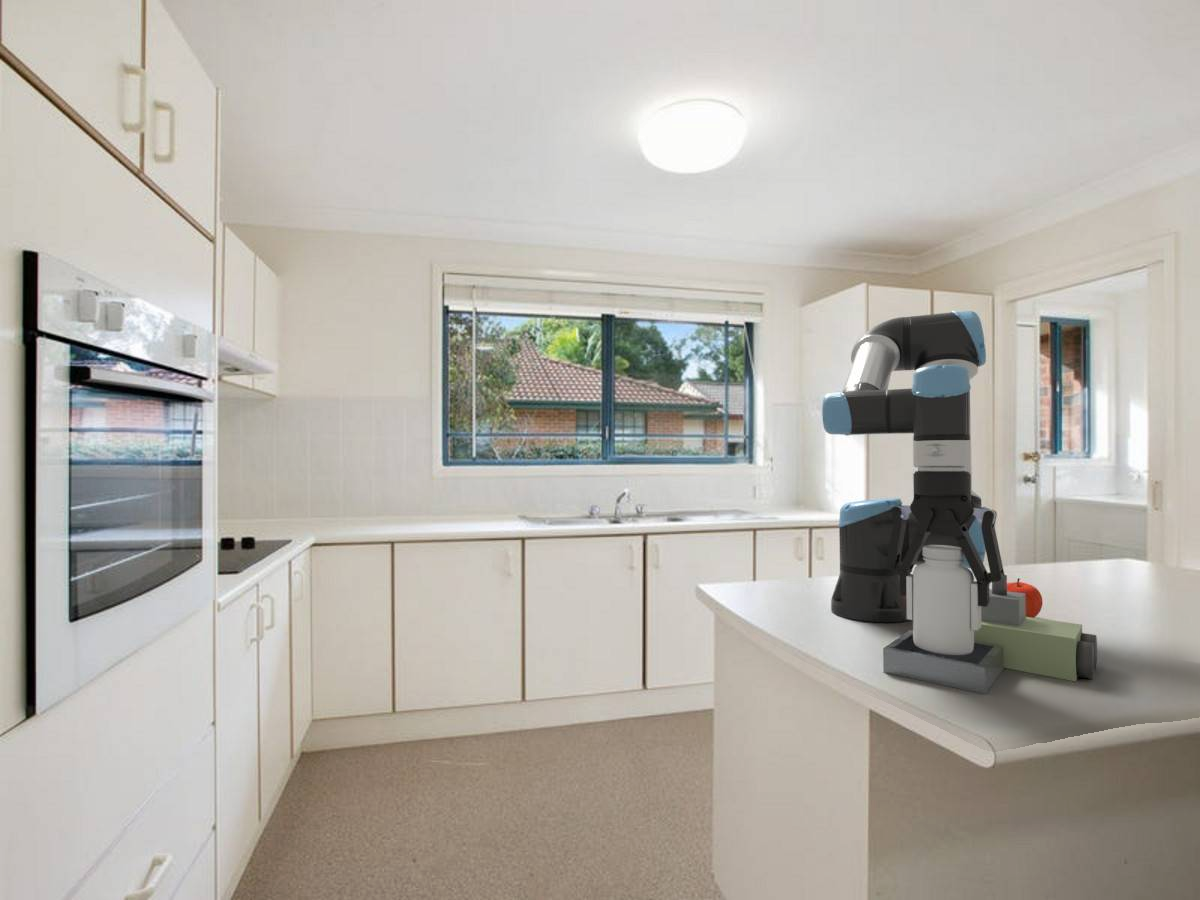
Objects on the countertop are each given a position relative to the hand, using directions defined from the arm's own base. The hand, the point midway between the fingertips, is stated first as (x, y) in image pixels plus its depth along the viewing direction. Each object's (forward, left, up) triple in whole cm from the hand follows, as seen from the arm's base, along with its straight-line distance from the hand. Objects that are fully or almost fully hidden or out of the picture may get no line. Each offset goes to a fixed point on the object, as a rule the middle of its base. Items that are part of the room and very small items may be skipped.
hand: (943, 622), depth 92 cm
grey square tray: (0, 0, -7) cm, 7 cm away
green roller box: (+6, +13, -7) cm, 16 cm away
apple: (+3, +43, -7) cm, 44 cm away
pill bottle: (0, 0, -4) cm, 4 cm away
